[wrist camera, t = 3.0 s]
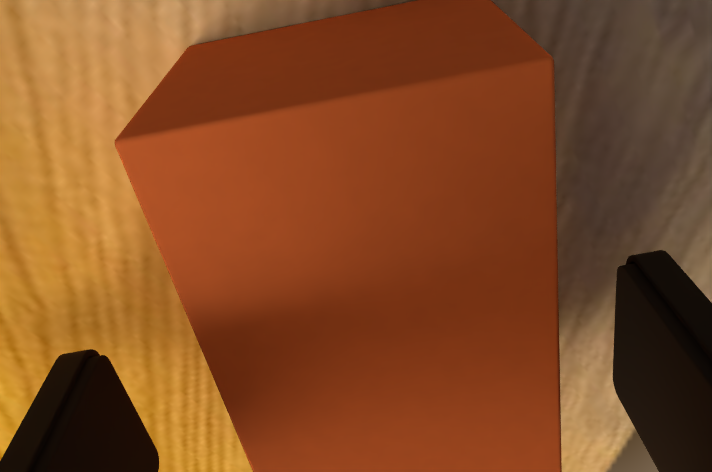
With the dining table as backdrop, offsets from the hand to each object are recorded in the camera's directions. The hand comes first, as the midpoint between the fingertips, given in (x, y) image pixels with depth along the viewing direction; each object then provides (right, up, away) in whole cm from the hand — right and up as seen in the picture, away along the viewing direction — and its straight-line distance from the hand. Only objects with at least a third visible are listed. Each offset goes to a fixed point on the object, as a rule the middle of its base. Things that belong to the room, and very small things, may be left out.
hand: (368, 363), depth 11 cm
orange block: (0, +3, +4) cm, 5 cm away
